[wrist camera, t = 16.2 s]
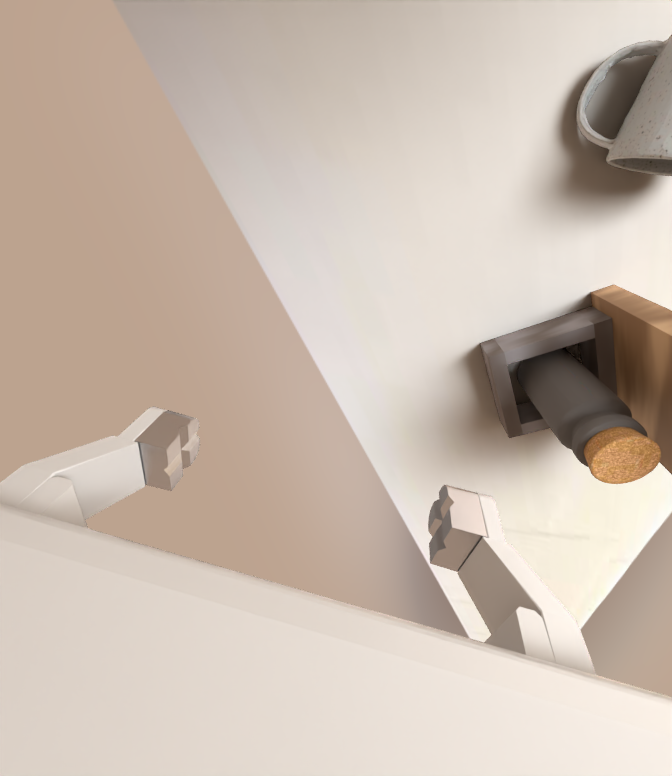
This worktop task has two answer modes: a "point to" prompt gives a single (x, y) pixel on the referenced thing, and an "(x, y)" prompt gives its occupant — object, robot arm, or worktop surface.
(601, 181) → the worktop surface
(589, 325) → the wooden stand
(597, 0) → the worktop surface
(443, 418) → the worktop surface
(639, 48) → the ceramic mug
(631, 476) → the bottle
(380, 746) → the robot arm
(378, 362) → the worktop surface
